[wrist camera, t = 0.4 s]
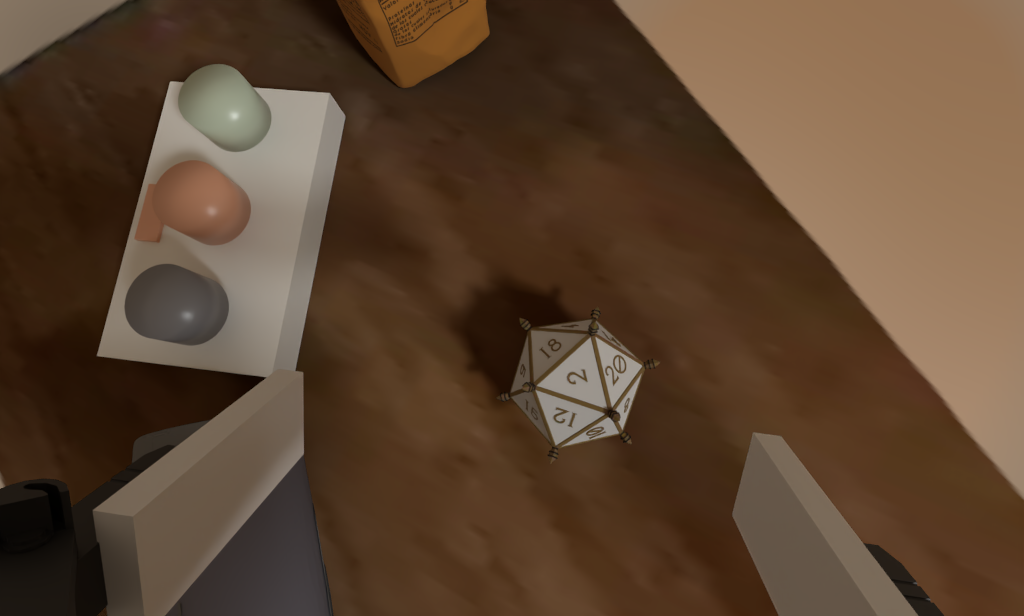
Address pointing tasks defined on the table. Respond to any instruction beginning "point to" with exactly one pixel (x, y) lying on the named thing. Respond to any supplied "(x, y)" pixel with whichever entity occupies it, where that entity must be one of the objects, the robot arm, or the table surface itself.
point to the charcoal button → (176, 305)
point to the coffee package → (416, 34)
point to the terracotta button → (201, 203)
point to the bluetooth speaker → (259, 552)
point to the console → (240, 237)
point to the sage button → (224, 108)
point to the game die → (576, 382)
